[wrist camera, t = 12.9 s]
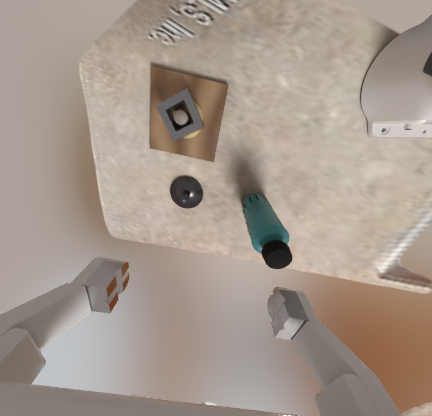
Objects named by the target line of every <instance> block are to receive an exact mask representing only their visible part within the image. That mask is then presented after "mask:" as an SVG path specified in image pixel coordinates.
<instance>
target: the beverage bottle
mask: <svg viewBox="0 0 432 416" xmlns="http://www.w3.org/2000/svg"><path fill="white" fill-rule="evenodd" d="M242 207H243V213H244V215H245V216H244V217H245V219H246V221H245V222H246V224H247V225H246V226H247V227H248V230H249V235H250V237H251V240H252V245H253V247H254V249H255V250H256V251H258V252H259V253H262V256H263V258H264V260H265V263H266V264H267V265H268V266H269V267H270V268H273V269H281V268H284V267H286V266H288V265H289V264H290V263H291V261H292V254H291V252H290V249H289V247H288V245H287V244H288V242H289V234H288V232H287V230H286V229H285V228H284V226H283V225H282V223H281V222H280V220H279V218H278V217H277V215H276V214H275V212H274V211H273V209H272V207H271V204H269V202H268V201H267V199H266V198H265V197H264V196H263V195H261V194H258V193H254V194H250V195H248V196H247V197H246V198H245V199H244V201H243V204H242Z"/></svg>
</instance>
